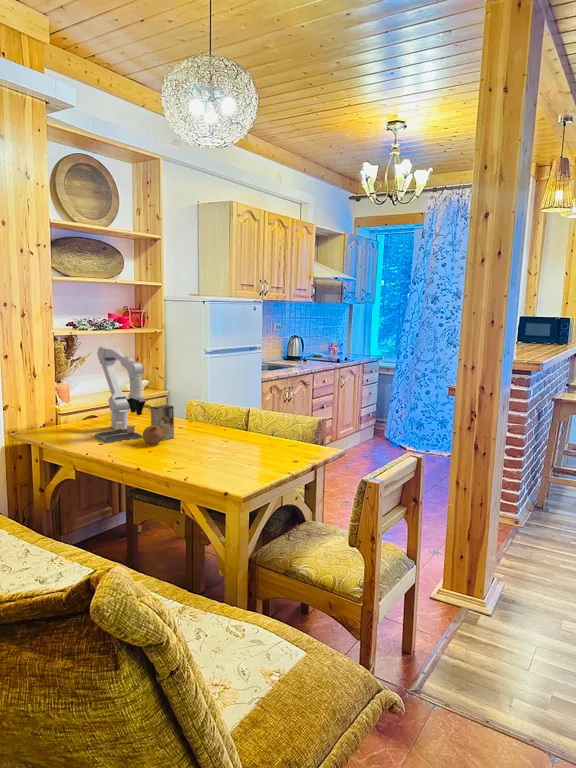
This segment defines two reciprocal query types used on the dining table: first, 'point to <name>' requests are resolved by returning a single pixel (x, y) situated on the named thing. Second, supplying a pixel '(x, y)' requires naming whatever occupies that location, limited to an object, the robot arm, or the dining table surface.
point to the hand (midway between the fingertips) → (136, 413)
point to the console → (117, 436)
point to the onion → (152, 435)
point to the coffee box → (163, 420)
